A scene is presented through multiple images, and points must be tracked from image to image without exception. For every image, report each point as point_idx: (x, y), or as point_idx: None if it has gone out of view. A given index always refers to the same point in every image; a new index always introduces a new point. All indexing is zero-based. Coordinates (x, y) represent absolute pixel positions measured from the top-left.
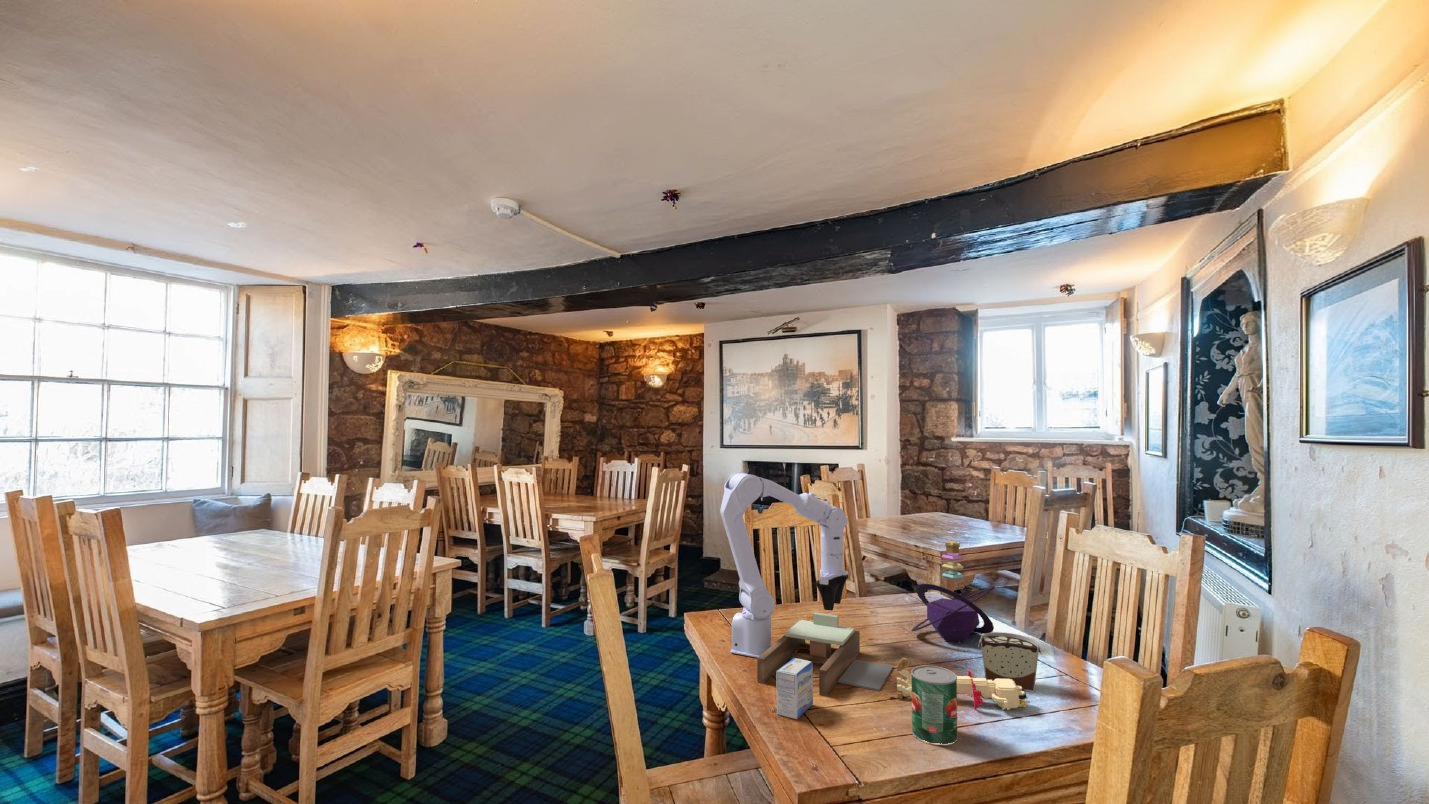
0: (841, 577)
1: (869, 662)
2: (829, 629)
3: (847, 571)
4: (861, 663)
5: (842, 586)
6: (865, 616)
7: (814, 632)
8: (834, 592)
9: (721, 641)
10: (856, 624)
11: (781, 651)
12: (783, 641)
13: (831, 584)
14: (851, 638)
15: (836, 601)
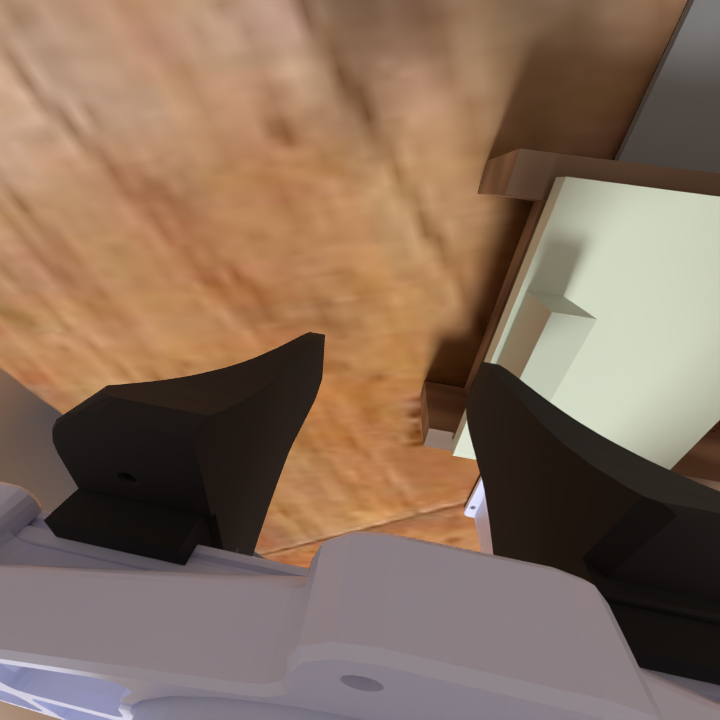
0: (216, 478)
1: (668, 70)
2: (599, 331)
3: (373, 669)
4: (680, 119)
5: (268, 386)
6: (24, 204)
7: (654, 394)
8: (648, 460)
9: (459, 542)
10: (141, 230)
11: (693, 457)
12: (689, 477)
13: (713, 592)
14: (685, 183)
15: (320, 359)
